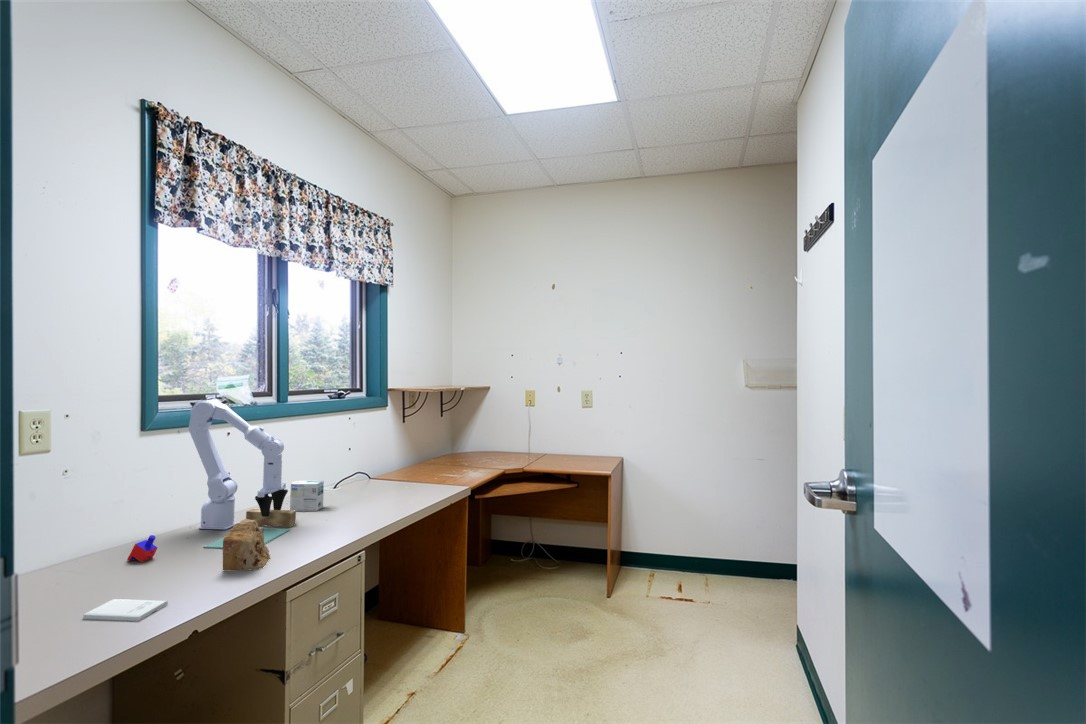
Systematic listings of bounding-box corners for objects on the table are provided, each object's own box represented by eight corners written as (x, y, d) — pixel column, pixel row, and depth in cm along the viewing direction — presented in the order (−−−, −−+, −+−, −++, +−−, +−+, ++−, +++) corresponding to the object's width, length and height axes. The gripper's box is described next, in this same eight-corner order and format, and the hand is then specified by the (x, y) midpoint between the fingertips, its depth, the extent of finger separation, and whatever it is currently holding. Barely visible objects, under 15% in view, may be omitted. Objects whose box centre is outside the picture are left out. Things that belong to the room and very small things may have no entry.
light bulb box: (323, 507, 210) (324, 480, 211) (317, 511, 203) (318, 483, 204) (296, 507, 210) (297, 479, 210) (289, 511, 203) (290, 483, 203)
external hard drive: (115, 605, 121) (167, 606, 120) (82, 621, 113) (139, 623, 112) (115, 598, 121) (168, 599, 120) (83, 614, 113) (139, 615, 112)
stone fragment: (257, 572, 154) (230, 529, 155) (288, 551, 155) (260, 509, 156) (231, 589, 140) (201, 542, 141) (265, 567, 141) (235, 520, 142)
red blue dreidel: (138, 567, 146) (151, 542, 146) (126, 559, 147) (139, 534, 147) (149, 563, 150) (162, 538, 150) (138, 555, 150) (150, 531, 150)
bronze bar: (245, 525, 183) (246, 511, 183) (251, 523, 187) (252, 509, 187) (290, 527, 182) (290, 513, 182) (295, 524, 186) (295, 510, 186)
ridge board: (203, 548, 159) (203, 541, 159) (243, 528, 179) (243, 523, 179) (255, 549, 158) (255, 543, 158) (289, 530, 178) (289, 524, 178)
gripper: (272, 478, 178) (271, 519, 177) (294, 471, 192) (293, 508, 192) (251, 478, 178) (250, 518, 178) (275, 470, 192) (274, 508, 192)
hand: (271, 513), depth 185 cm, fingers open, 7 cm apart
